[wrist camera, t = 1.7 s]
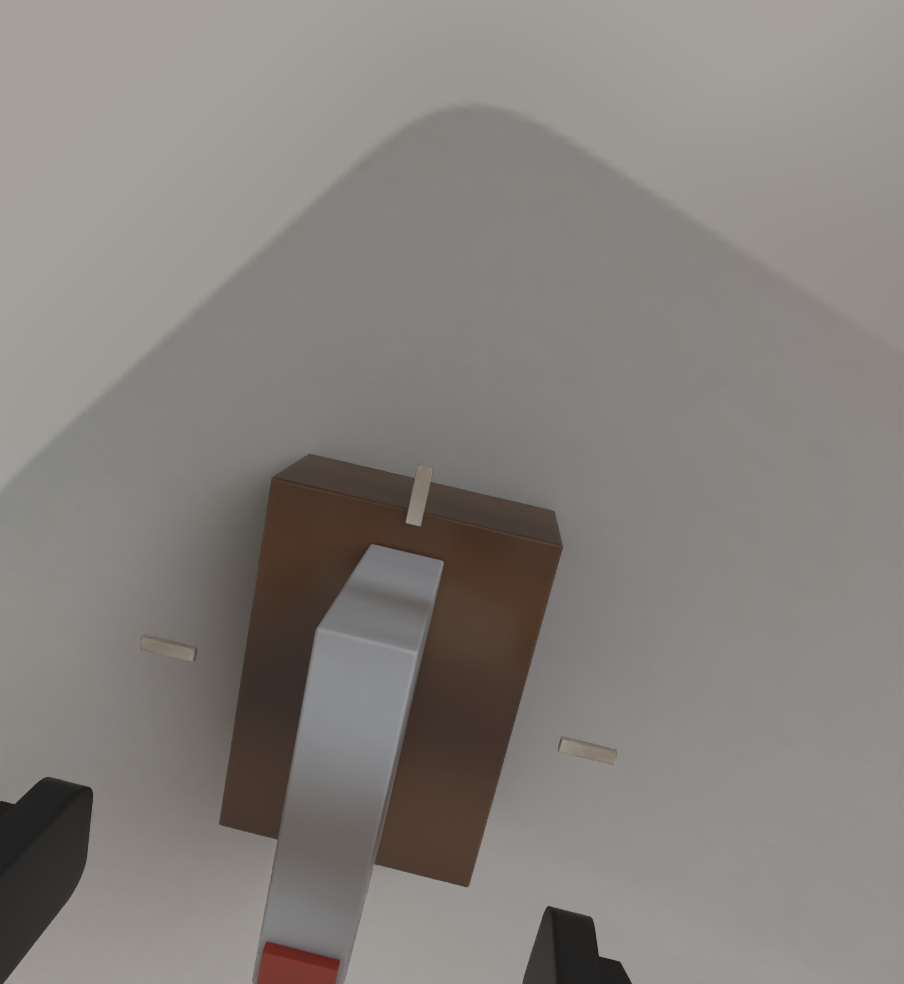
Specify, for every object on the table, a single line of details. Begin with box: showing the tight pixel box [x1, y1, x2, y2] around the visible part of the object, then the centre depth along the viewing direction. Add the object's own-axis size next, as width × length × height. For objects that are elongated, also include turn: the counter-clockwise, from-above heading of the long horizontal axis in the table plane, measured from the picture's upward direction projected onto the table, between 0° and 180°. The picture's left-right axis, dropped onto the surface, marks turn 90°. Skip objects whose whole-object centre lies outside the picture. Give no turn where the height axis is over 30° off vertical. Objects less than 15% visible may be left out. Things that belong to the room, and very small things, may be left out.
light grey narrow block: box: [252, 544, 444, 984], centre depth 14 cm, size 8×2×5 cm, turn 168°
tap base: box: [140, 454, 617, 887], centre depth 18 cm, size 12×12×3 cm
